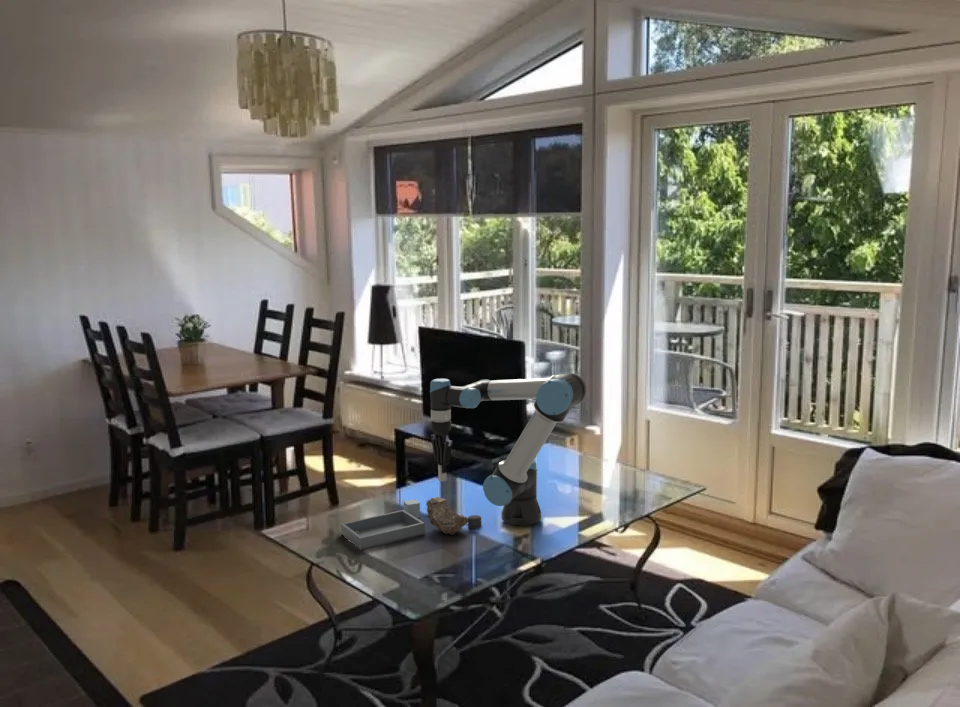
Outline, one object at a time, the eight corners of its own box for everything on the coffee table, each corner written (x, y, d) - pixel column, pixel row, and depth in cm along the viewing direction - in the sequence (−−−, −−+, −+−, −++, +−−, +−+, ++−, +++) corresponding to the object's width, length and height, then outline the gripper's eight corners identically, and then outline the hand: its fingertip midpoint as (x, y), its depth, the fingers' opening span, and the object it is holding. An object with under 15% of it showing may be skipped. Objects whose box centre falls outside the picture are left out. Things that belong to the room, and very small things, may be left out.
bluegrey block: (420, 517, 315) (419, 503, 314) (407, 519, 313) (407, 504, 312) (416, 513, 319) (415, 499, 318) (404, 515, 317) (403, 500, 316)
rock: (472, 521, 301) (465, 510, 294) (457, 544, 297) (450, 533, 290) (435, 502, 310) (428, 490, 303) (421, 524, 306) (412, 513, 299)
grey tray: (425, 534, 297) (424, 523, 296) (360, 550, 283) (360, 538, 282) (403, 520, 311) (403, 509, 310) (341, 535, 297) (340, 523, 297)
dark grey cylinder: (483, 528, 303) (483, 518, 302) (472, 531, 300) (472, 520, 300) (476, 524, 307) (476, 514, 306) (465, 527, 304) (465, 516, 304)
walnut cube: (446, 511, 321) (446, 499, 320) (437, 514, 318) (437, 502, 317) (437, 508, 325) (437, 496, 324) (428, 512, 321) (428, 500, 320)
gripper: (458, 421, 298) (460, 483, 301) (440, 415, 309) (442, 474, 312) (441, 424, 294) (442, 486, 297) (423, 418, 305) (425, 478, 308)
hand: (442, 480), depth 305 cm, fingers closed
